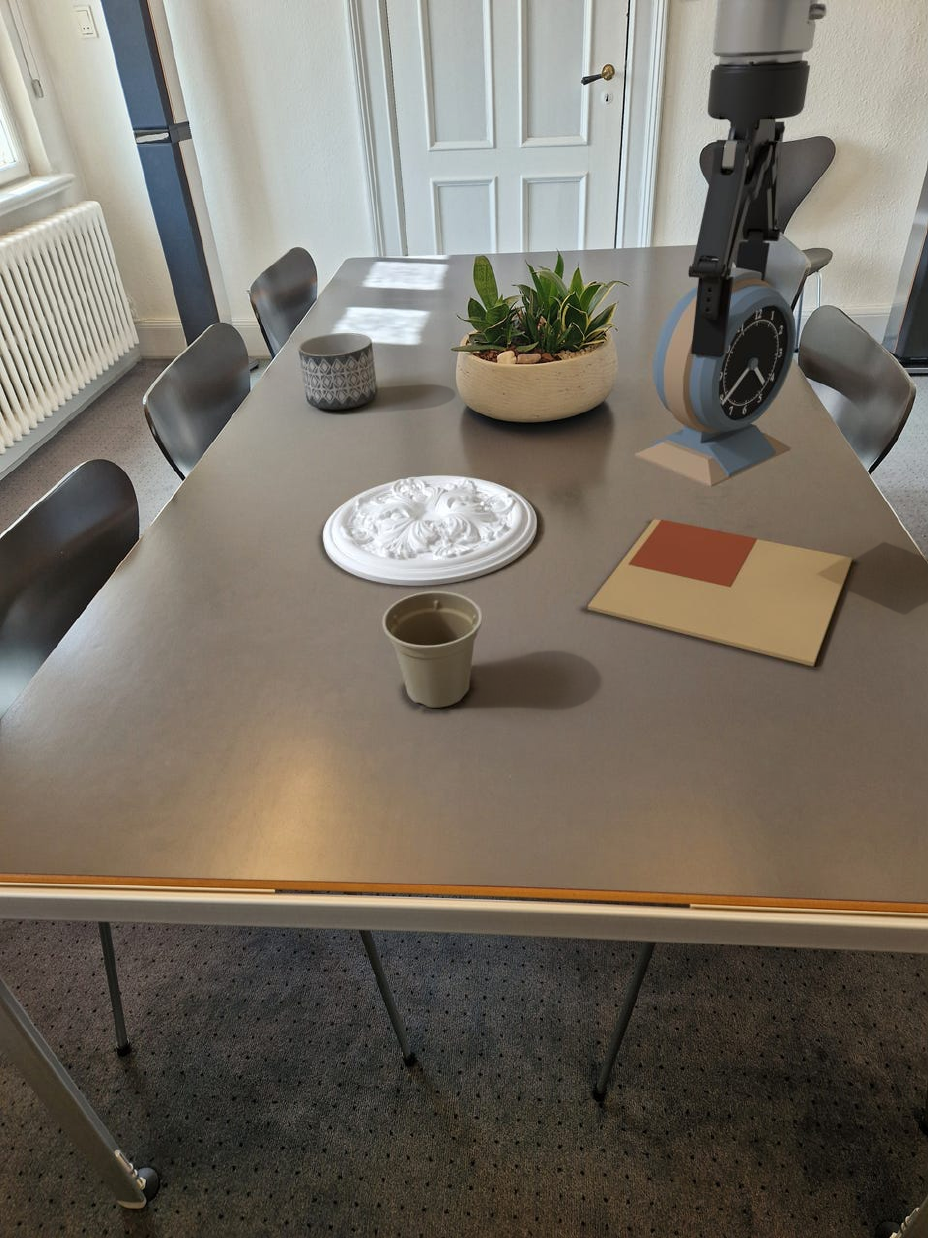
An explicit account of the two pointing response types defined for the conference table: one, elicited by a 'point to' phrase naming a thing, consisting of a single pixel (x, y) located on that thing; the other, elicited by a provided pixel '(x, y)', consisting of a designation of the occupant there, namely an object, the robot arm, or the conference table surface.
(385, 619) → the flower pot
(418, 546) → the ceiling medallion
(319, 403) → the planter
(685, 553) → the mat
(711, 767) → the conference table surface
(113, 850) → the conference table surface
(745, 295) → the alarm clock
